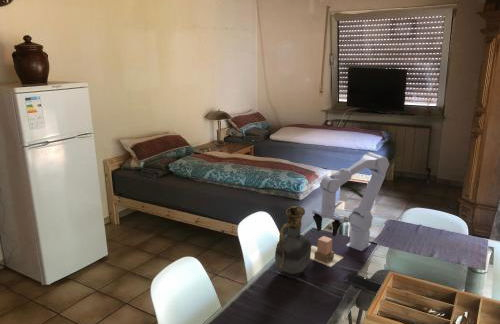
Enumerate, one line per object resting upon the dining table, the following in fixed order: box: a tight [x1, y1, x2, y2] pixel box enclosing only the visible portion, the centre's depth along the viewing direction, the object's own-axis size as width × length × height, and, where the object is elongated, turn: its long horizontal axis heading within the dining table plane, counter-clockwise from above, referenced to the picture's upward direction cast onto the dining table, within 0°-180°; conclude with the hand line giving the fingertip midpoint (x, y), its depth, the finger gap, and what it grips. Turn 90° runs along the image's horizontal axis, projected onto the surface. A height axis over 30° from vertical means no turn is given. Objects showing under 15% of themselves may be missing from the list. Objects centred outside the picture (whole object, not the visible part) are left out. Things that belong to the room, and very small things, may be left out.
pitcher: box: [274, 205, 312, 279], centre depth 159 cm, size 11×19×30 cm, turn 146°
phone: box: [342, 272, 383, 295], centre depth 157 cm, size 8×1×15 cm
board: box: [310, 245, 344, 268], centre depth 178 cm, size 11×16×1 cm
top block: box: [316, 235, 334, 255], centre depth 174 cm, size 4×4×6 cm
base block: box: [314, 250, 335, 263], centre depth 175 cm, size 6×6×3 cm
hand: (326, 232), depth 177 cm, fingers open, 7 cm apart
